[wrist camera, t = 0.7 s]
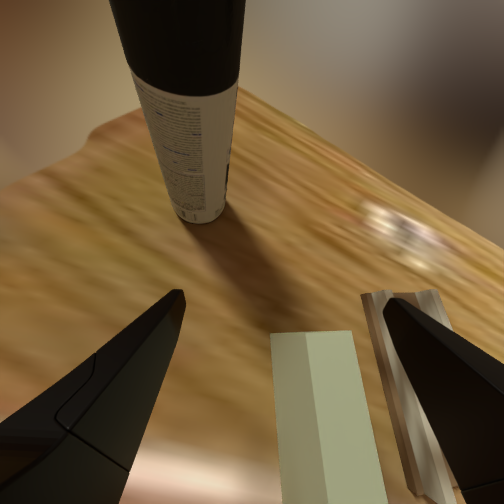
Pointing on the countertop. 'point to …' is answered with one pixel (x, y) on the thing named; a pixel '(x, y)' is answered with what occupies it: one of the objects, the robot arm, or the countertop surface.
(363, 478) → the pale green rectangular block
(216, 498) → the countertop surface
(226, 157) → the spray can
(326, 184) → the countertop surface
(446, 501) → the bottom track
